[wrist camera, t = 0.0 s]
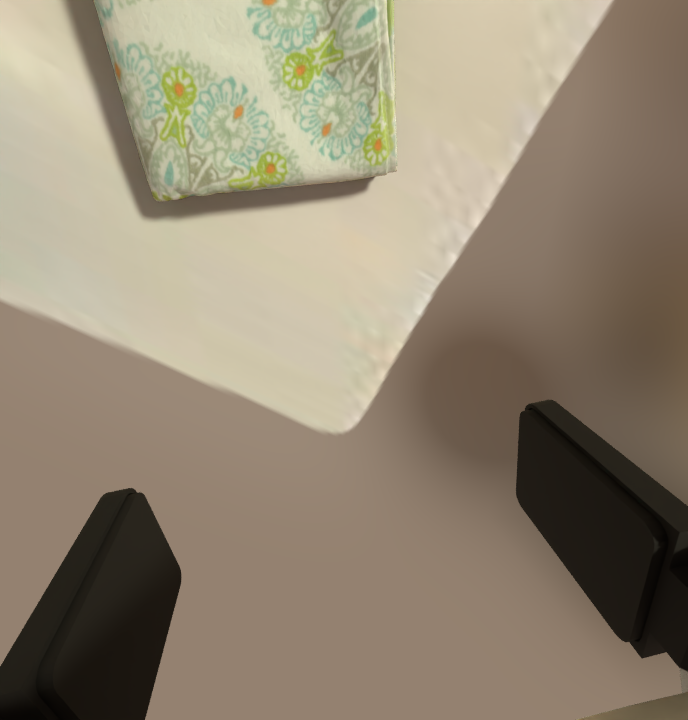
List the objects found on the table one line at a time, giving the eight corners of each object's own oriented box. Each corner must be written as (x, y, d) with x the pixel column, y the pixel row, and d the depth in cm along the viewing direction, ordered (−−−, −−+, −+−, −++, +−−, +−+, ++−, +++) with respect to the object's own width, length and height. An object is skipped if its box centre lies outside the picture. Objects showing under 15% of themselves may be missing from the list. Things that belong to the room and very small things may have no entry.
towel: (393, 177, 36) (409, 176, 32) (160, 201, 34) (140, 203, 30) (383, -93, 29) (402, -147, 24) (84, -80, 27) (42, -136, 22)
